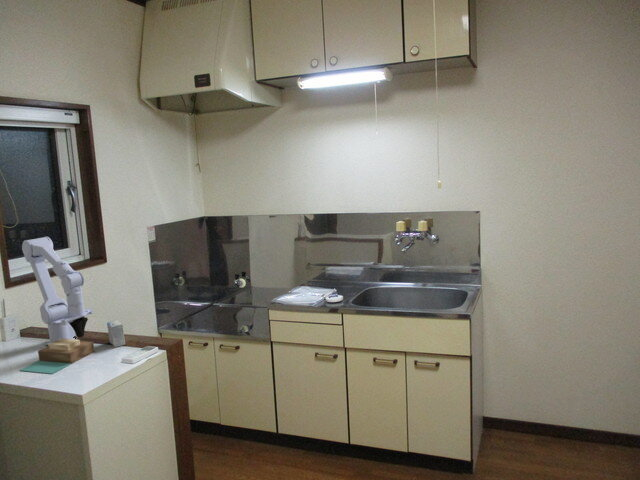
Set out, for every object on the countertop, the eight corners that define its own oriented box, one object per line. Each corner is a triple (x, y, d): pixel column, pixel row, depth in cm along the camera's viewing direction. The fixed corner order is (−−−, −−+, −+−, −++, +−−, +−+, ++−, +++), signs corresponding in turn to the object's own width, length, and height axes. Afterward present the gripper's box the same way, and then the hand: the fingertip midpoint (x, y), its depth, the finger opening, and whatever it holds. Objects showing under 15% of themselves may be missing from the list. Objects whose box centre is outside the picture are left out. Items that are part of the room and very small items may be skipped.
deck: (63, 349, 208) (62, 339, 208) (94, 351, 204) (93, 341, 203) (39, 361, 197) (37, 351, 197) (71, 363, 193) (69, 353, 192)
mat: (38, 361, 197) (38, 360, 197) (70, 364, 192) (70, 363, 192) (19, 370, 189) (19, 370, 189) (52, 374, 184) (52, 373, 184)
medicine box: (125, 344, 209) (123, 324, 208) (114, 347, 207) (111, 326, 205) (120, 339, 216) (118, 319, 214) (109, 342, 213) (106, 322, 212)
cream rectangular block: (61, 343, 204) (60, 338, 203) (80, 344, 201) (79, 339, 200) (49, 349, 198) (48, 344, 198) (68, 350, 195) (67, 345, 195)
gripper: (69, 309, 196) (75, 343, 199) (97, 298, 210) (101, 330, 212) (55, 308, 199) (60, 342, 201) (82, 297, 212) (87, 329, 215)
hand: (80, 336), depth 207 cm, fingers closed
